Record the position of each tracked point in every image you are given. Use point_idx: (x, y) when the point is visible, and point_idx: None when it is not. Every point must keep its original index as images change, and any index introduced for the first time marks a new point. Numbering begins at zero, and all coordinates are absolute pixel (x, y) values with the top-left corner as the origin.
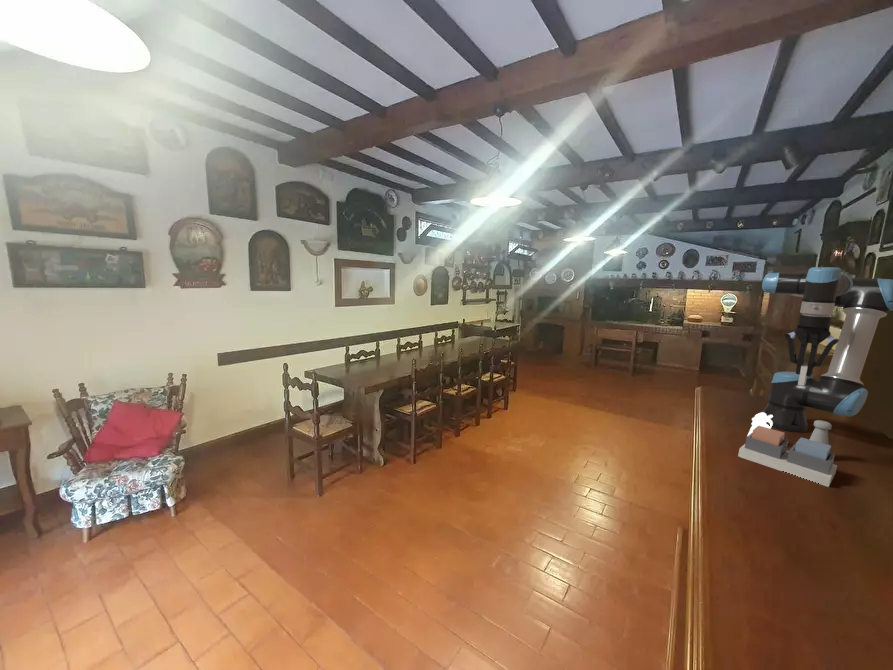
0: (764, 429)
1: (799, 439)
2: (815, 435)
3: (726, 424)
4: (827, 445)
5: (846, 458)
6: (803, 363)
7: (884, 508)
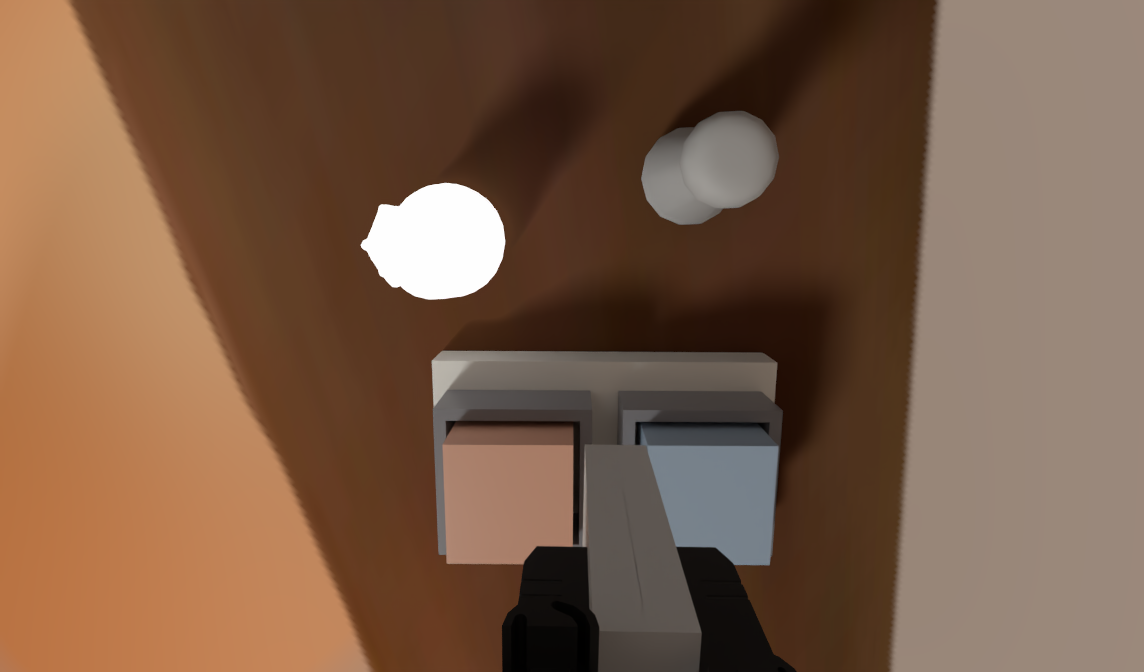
0: (484, 491)
1: None
2: (688, 200)
3: (241, 64)
4: (763, 461)
5: (794, 53)
6: (594, 657)
7: (897, 547)
